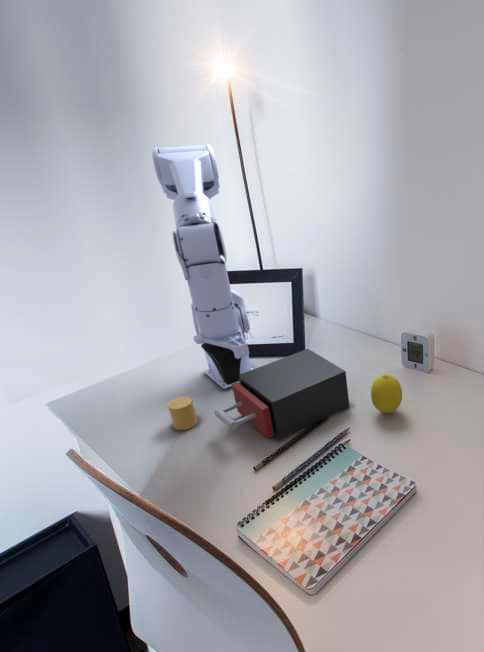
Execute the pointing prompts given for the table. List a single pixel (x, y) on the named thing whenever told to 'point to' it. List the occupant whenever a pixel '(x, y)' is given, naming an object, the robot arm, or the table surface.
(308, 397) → the dark grey box
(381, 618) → the table surface
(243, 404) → the drawer
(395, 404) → the lemon
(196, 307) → the robot arm
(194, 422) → the yellow wooden cylinder
